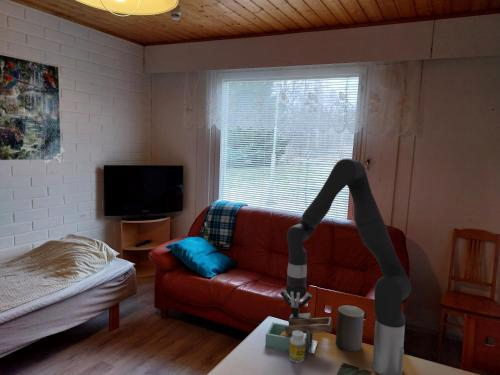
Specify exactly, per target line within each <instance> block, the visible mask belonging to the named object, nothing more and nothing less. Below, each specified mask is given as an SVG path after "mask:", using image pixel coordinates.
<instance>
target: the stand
mask: <svg viewBox="0 0 500 375" xmlns="http://www.w3.org/2000/svg"><path fill="white" fill-rule="evenodd" d="M305 335H306V336H305V338H304V339H305V355H308V356H311V357H312V356H313V357H314V356H315V353H316V349H317V346H318V340H313V337H314V333H310V330H308V329H307V333H305Z"/></svg>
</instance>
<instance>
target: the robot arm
mask: <svg viewBox="0 0 500 375" xmlns="http://www.w3.org/2000/svg"><path fill="white" fill-rule="evenodd" d="M345 187H347V188H348V190H349V192H350V195H351V198H352V202H353V215H354V222H355V226H356V229H357V232H358V234H359V237H360V239H361V241H362V243H363V245H365V247H366V248H367V249H368V251H369V252H370V253H371V254H372V255H373V257H374V258H375V259H376V261H377V263H378V265H379V267H380V270H381V273H382V276H381V277H380V278H378V279H377V281H376V283H375V286H374V298H373V309H374V313H375V324H374V336H373V337H374V338H373V353H372V361H371V362H372V363H371V365H372V367H371V368H372V369H373V370H374V372H375V373H377V374H379V375H403V365H404V357H405V356H404V354H405V349H404V342H405V327H406V314H404V313H403V311H402V309H403V300H405V299H407V298H408V297H409V296H410V295H411V291H412V284H411V282H410V279H409V277H408V275H407V273H406V271H405V269H404V267H403V265H402V264H401V261H400V259H399V256H398V255H397V252H396V250H395V246H394V245H393V242H392V239H391V238H390V234H389V232H388V229H387V226H386V223H385V221H384V219H383V216H382V214H381V211H380V209H379V206H378V204H377V202H376V200H375V197H374V195H373V193H372V189H371V186H370V182H369V179H368V174H367V171H366V168H365V166H364V165H363V163H362V162H361V161H359V160H358V159H354V158H341V159H340V160H338V161H337V162H336V163H335V165H333V168H332V170H331V172H330V173H329V175H328V177H327V179H325V182H324V184H323V186H322V187H321V189H320V190H319V192H318V193H317V194H316V196H315V198H313V201H312V202H311V203H310V204H309V205H308V206H307V208H306V209H305V210H304V212H303V213H302V215H301V220H300V221H299V222H298V223H297V224H295V225H292V226H290V227H289V228H288V230H287V232H286V243H287V248H288V252H289V253H288V265H287V271H286V273H287V276H286V277H287V279H286V280H287V281H286V286H285V289H282V290H281V291H280V292H279V293H280V296H281V297H282V299H283V300H284V302H285V303H286V305H287V306H291V310H290V311H291V312H290V315H291V314H293V316H297V315H298V314H300V308H303V307H305V306H306V304H307V303H308V302H309V301H310V300H311V298H312V296H313V295H312V293H309V292H308V289H307V276H308V274H307V272H308V270H307V269H308V267H307V260H308V252H307V251H308V250H306V249H305V248H304V242H305V241H307V240H308V239H310V237H311V236H312V235H313V233H314V232H315V230H316V228H317V226H318V225H319V224H320V223H321V222H322V221H323V220H324V218H325V217H326V215H327V214H328V213H329V212H330V209H331V207H332V205H333V203H334V201H335V198H336V197H337V196H338V194H339V193H340V192H341V191H342V190H343V189H344V188H345ZM303 297H304V299H303ZM301 299H303V300H302V301H301Z"/></svg>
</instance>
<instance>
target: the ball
mask: <svg viewBox="0 0 500 375" xmlns="http://www.w3.org/2000/svg"><path fill="white" fill-rule="evenodd" d="M280 336H284V337H290V338H291V335H290V334H286V331H284V332H282V333H281V335H280Z"/></svg>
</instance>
